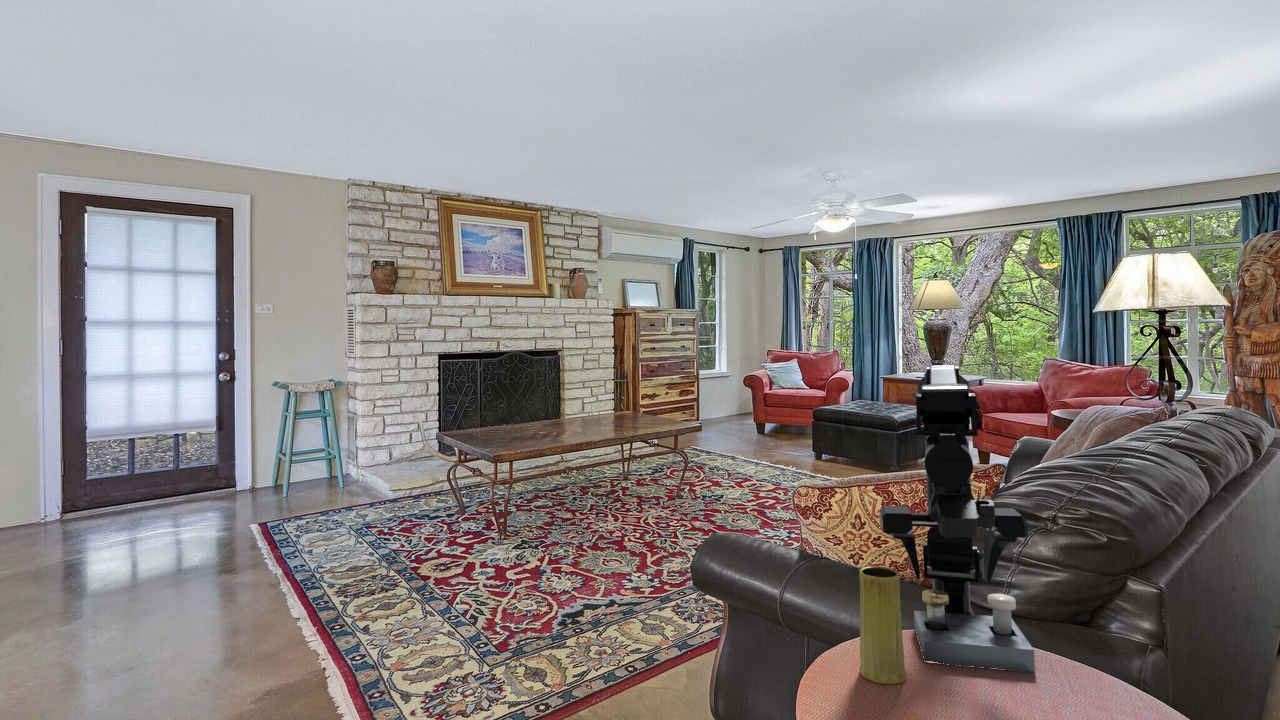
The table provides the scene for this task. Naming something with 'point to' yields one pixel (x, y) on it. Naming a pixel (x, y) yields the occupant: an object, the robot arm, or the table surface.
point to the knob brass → (935, 607)
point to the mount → (974, 643)
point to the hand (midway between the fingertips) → (952, 580)
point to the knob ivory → (1002, 612)
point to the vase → (881, 626)
